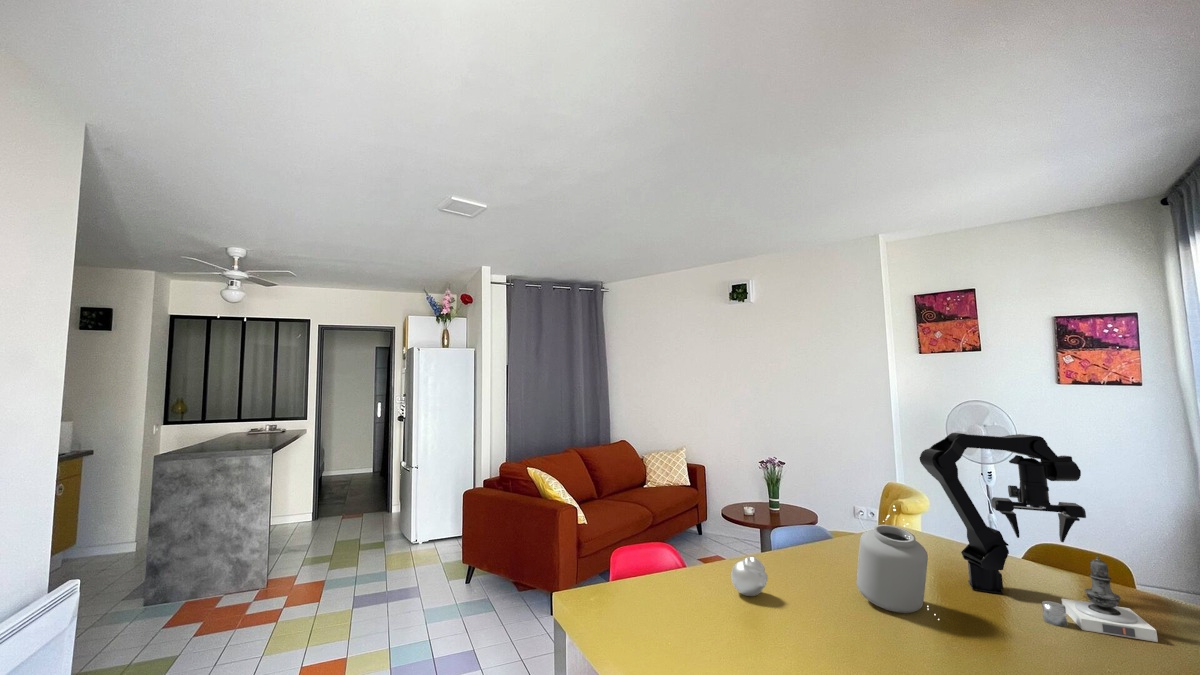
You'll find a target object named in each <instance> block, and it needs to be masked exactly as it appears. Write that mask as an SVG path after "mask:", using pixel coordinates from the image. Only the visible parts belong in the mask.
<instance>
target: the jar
mask: <svg viewBox="0 0 1200 675" xmlns="http://www.w3.org/2000/svg"><path fill="white" fill-rule="evenodd" d="M892 507H893V509H892V510H893V512H896V511H897V509H896V506H895V505H893V506H892ZM889 517H890V514H888V515H887V516H886V518H885V521H887V520H888V519H889ZM902 520H903V521H905V518H904V519H902ZM885 521H884V520H883V521H882V522H883V523H884V522H885ZM906 525H907V526H908V525H909V523H906ZM906 525H903V527H904V528H906ZM915 536H916V535H914V534H913V533H912V532H910V531H908V530H906V529H903V528H901V527H898V526H895V525H888V524H878V525H875V526H874V527H873V529H871V530H866V531H864V532H863V533H862V534H861V536H860V539H859V547H858V548H859V549H858V560H857V571H856V573H857V574H856V588H857V589H858V590H859V593H860V594H861V595H862V596H863V597H864V598H865V599H866V600H868V601H869V602H871V603H872V604H874V606H877V607H878V608H879V607H880V609H883V610H886V611H888V612H889V611H890V612H893V613H900V614H907V613H908V614H910V613H915V612H917V611H920V609H921V608H922V607H923V605H924V600H925V590H926V582H927V570H928V559H929V557H928V551H927V550H926V548H925V547H924V546H923V545H922V544H921V543H920V542H919V541H918V540H917V539H916V537H915ZM926 607H927V611H929V610H930V608H929V605H927V606H926ZM934 616H936V613H934ZM937 620H938V621H940V618H938V619H937Z"/></svg>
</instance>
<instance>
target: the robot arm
mask: <svg viewBox="0 0 1200 675" xmlns="http://www.w3.org/2000/svg"><path fill="white" fill-rule="evenodd" d="M968 448H969V449H970V448H971V449H981V450H994V451H1005V452H1009V453H1013V454H1016V455H1014V456H1013V457H1012V458H1011V459H1010V460H1009V461H1008V462H1009V463H1010V464H1013V465H1017V467H1018V477H1019V487H1018V486H1017V485H1011V484H1010V485H1008V486H1007V492H1008V497H996V496H995V497H992V498H991V500H990V503H991V507H992V508H993V509H994V510H995V511H998V512H999V513H1000V514H1002V515H1004V516H1005V517H1006V518H1007V520H1008V521H1009V524H1010V526H1011V528H1012V530H1013V532H1014V534H1015V537H1016V538H1017V539H1019V538H1020V529H1019V523H1018V519H1017V513H1015V512H1014V510H1015V509H1016V510H1025V511H1028V510H1029V511H1039V512H1051V513H1057V516H1058V519H1059V520H1058V521H1059V523H1058V524H1059V525H1058V529H1059V530H1058V531H1059V533H1058V534H1059V541H1060V543H1064V542H1065V541H1066V538H1067V535H1068V534H1069V531H1070V529H1072V528H1071V527H1072V526H1073V525H1074V524H1075V523H1076V522H1079V521H1080V519H1087V513H1086V509H1085V508H1084V507H1083V506H1082V505H1079V504H1077V503H1076V502H1065V501H1058V504H1051V502H1050V496H1049V492H1050V488H1049V486H1048V481H1050V482H1077V481H1079V480H1080V478H1081V475H1082V472H1081V469H1080V467H1079V466H1078V464H1077V463H1076V462H1075V461H1074V460H1073V457H1072V456H1071V455H1070V456H1069V455H1057V454H1056V453H1055V452H1054V451H1053V450H1052V449H1051V447H1050V446H1049V445H1048V442H1047V441H1046V439H1045V438H1044V437H1042V436H1040V435H1039V436H1038V435H1032V434H1023V433H1020V434H1019V433H1018V434H1009V435H1004V436H1003V435H1002V436H995V435H981V434H980V435H979V434H966V433H962V432H961V433H960V432H951V433H949V434H948V435H947V436H946V437H944V438H943V439H941V440H939V441H938V442H936V443H933V444H932V446H930V447H929V448H926V449H924V450H922V451H921V453H920V455H919V461H920V463H921V465H922V466H923V468H924V469H925V470H926V472H928V473H929V475H931V476H932V477H933V478H934V479H935V480H936V481H937V482H938V483H939V484H940V485H941V488H942V489H943V491H944V492H945V494H946V496H947V498H948V499H949V501H950V503H951V505H952V507H953V508H954V509H955V511H956V513H957V515H958V516H959V517H960V520H961V521H962V523H963V525H964V526H965V529H966V538H967V542H968V544H967V546H965V547H964V549H962V550H961V552H960V553H961V555H962V558H963V559H964V560H965V561H967V568H968V578H969V580H968V585H969V586H970V587H971V589H972V590H973V591H978V592H985V593H990V594H991V593H992V594H998V595H999V594H1000V595H1003V594H1004V592H1003V590H1004V584H1003V576H1002V575H1003V574H1002V573H1001V571H1003V570H1004V568H1005V564H1006V560H1007V558H1008V556H1009V554H1010V551H1009V549H1008V548H1009V546H1010V545H1009V544H1008V543H1007V542H1006V540H1005V539H1004V536H1003V535H1002V533H1001V531H1000V530H998V529H995V528H993V527H991V526H988V525H987V524H986V522H985V521H984V519H983V517H982V516H981V514H980V513H979V511H978V509H977V508H976V506H975V504H974V503H973V501H972V499H971V498H970V496H969V494H968V492H967V490H965V487H964V486H963V484H962V482H961V481H960V478H959V468H958V466H957V464H956V463H957V462H958V461H959V460H960V459H961V458H962V457H963V454H964V453H965V451H966V450H967V449H968ZM1024 456H1027V457H1024ZM1010 498H1013V499H1014V498H1015V499H1017V501H1012V500H1011V499H1010Z"/></svg>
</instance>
